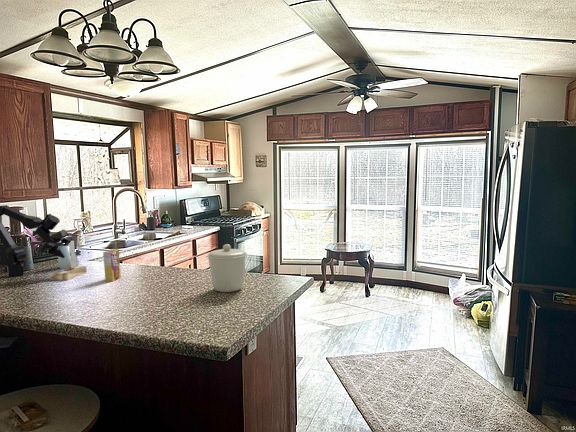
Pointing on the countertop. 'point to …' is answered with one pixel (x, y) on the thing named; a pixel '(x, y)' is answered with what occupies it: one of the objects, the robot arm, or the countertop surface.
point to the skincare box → (72, 251)
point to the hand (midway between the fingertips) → (67, 256)
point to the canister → (227, 268)
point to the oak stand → (68, 273)
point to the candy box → (112, 265)
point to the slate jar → (65, 258)
